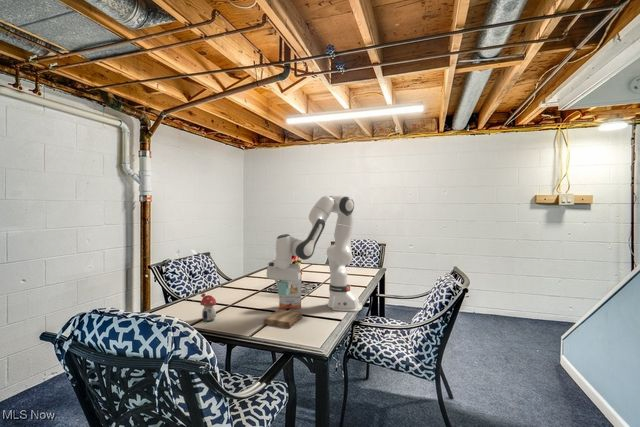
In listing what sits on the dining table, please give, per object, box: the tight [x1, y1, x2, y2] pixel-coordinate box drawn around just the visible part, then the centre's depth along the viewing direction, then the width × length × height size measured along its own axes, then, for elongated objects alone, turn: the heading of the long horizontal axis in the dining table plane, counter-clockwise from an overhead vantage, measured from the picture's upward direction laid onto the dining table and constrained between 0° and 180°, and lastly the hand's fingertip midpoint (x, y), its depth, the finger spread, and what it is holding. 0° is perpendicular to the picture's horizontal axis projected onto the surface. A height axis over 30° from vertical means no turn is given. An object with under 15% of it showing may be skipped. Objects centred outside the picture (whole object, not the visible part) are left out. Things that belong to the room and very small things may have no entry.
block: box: [277, 280, 290, 296], centre depth 171 cm, size 5×5×7 cm
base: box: [263, 309, 303, 329], centre depth 171 cm, size 16×16×3 cm
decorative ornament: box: [199, 293, 217, 323], centre depth 171 cm, size 9×6×15 cm
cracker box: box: [278, 278, 302, 310], centre depth 192 cm, size 14×6×21 cm, turn 95°
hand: (283, 287), depth 170 cm, fingers closed on block, 5 cm apart
